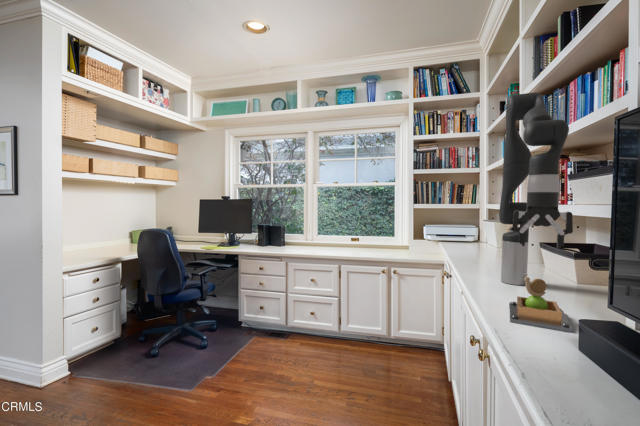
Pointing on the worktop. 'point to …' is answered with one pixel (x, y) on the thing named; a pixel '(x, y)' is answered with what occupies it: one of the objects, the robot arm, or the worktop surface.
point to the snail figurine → (535, 293)
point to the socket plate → (539, 315)
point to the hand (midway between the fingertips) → (540, 246)
